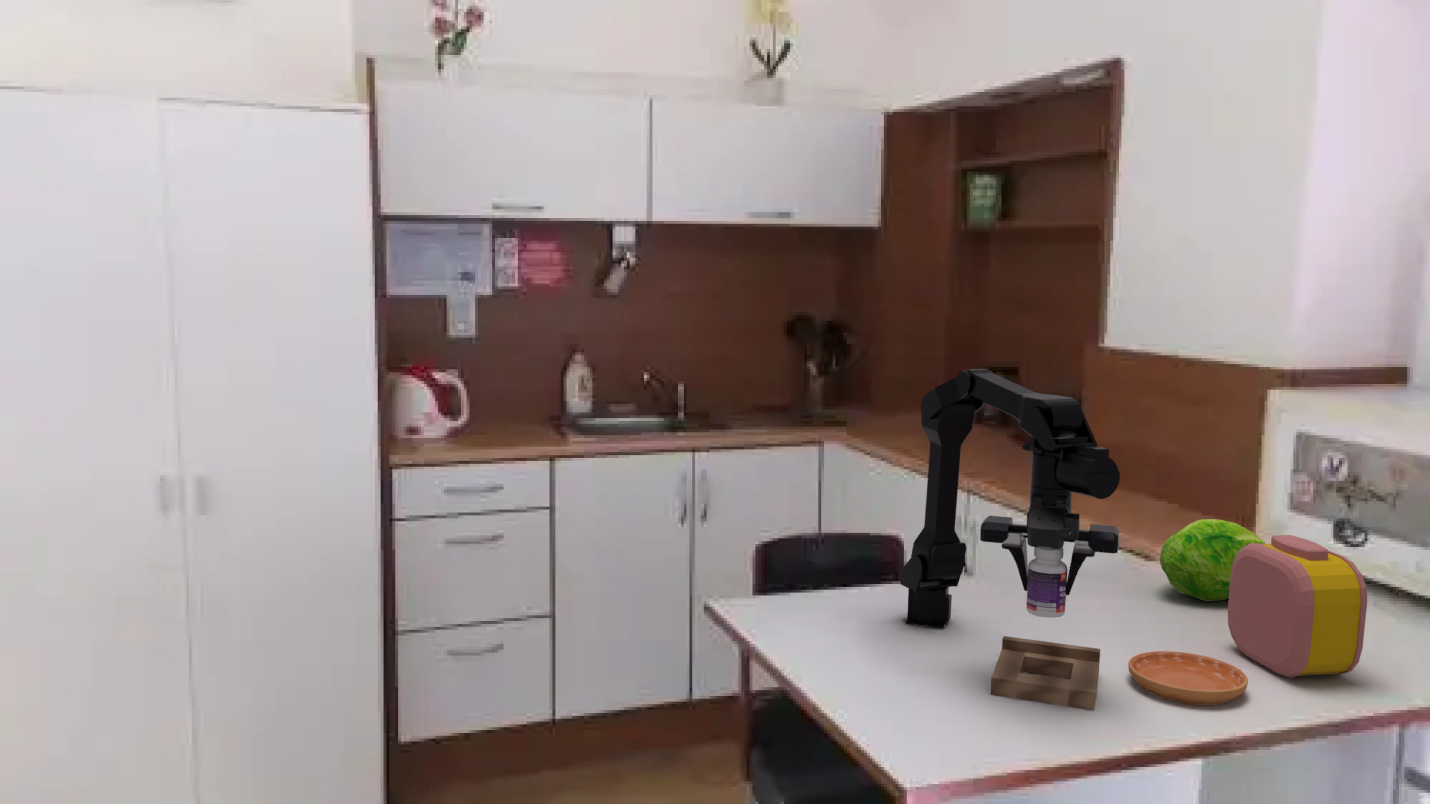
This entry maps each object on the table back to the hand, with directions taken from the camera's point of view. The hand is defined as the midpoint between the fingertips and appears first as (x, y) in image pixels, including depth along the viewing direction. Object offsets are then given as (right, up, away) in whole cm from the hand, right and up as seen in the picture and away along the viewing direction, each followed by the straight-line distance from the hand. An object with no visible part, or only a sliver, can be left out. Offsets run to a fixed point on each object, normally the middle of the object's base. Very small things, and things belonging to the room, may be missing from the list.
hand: (1046, 592), depth 162 cm
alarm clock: (+40, -13, +11) cm, 44 cm away
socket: (0, -14, +1) cm, 14 cm away
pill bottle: (0, -3, 0) cm, 3 cm away
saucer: (+21, -14, +1) cm, 25 cm away
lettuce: (+44, -9, +44) cm, 63 cm away
